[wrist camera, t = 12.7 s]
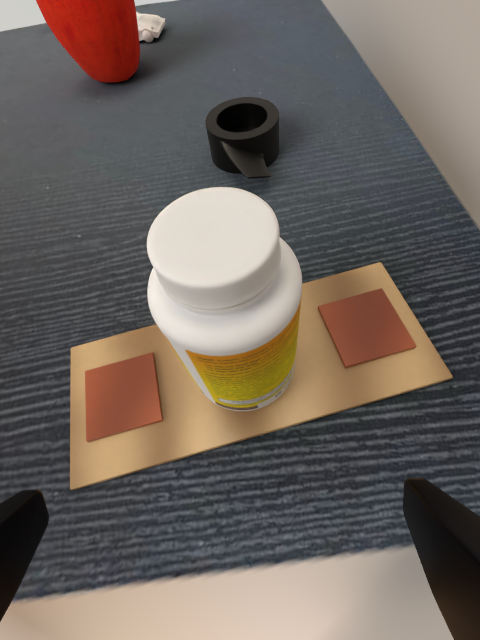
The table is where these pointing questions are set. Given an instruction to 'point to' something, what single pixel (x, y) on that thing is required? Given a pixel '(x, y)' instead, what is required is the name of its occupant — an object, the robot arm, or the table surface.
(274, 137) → the black hollow round piece
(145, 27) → the toy car
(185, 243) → the supplement bottle
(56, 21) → the apple
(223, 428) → the wood board
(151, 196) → the table surface
